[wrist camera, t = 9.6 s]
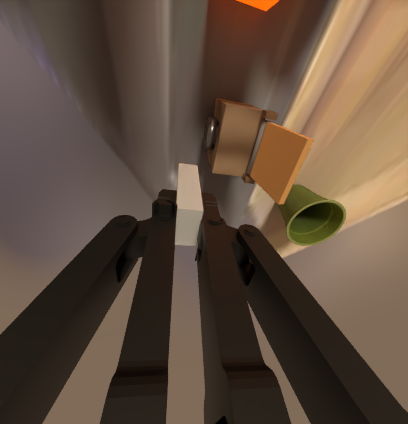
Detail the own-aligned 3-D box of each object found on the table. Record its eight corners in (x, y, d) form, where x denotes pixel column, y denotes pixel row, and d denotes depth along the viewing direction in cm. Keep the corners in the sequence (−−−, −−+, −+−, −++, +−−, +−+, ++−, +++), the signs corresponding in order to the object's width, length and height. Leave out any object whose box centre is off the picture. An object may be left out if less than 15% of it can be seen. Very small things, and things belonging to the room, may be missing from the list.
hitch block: (216, 96, 34) (229, 104, 24) (252, 103, 35) (278, 113, 25) (206, 153, 40) (213, 178, 30) (237, 158, 41) (253, 183, 31)
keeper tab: (306, 139, 20) (315, 140, 20) (261, 119, 27) (268, 120, 27) (276, 204, 24) (284, 204, 24) (245, 172, 31) (251, 172, 32)
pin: (207, 113, 33) (210, 119, 29) (295, 128, 36) (309, 136, 31) (202, 144, 36) (204, 153, 32) (283, 156, 38) (296, 166, 34)
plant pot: (297, 165, 43) (328, 189, 34) (323, 193, 48) (356, 220, 39) (258, 200, 48) (275, 229, 39) (285, 222, 53) (306, 253, 44)
